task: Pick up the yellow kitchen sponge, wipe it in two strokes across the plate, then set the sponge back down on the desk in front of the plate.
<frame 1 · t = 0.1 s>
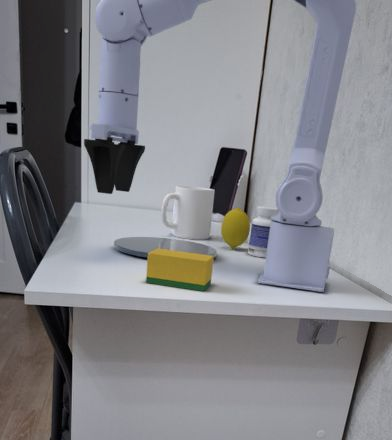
hand: (114, 192, 83), 10 cm above the table, tool pointing down, fingers open, 7 cm apart
cup: (183, 237, 116), on the table
pill bottle: (261, 256, 103), on the table
sponge: (178, 283, 74), on the table
lemon: (232, 250, 107), on the table
plate: (165, 252, 96), on the table
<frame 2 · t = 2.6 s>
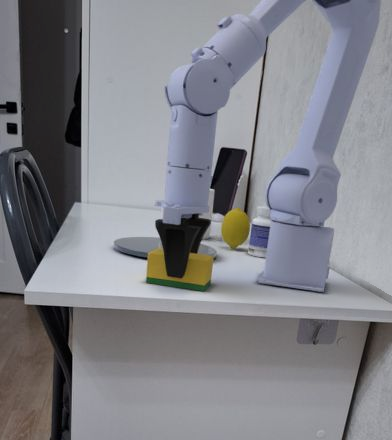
hand: (179, 273, 73), 1 cm above the table, tool pointing down, fingers closed on sponge, 4 cm apart
sponge: (178, 283, 74), on the table, touching gripper
everything else where it was.
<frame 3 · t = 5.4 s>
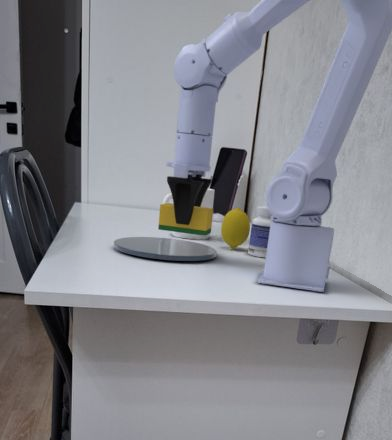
hand: (186, 222, 90), 6 cm above the table, tool pointing down, fingers closed on sponge, 4 cm apart
sponge: (184, 231, 91), point 5 cm above the table, touching gripper
everything else where it was.
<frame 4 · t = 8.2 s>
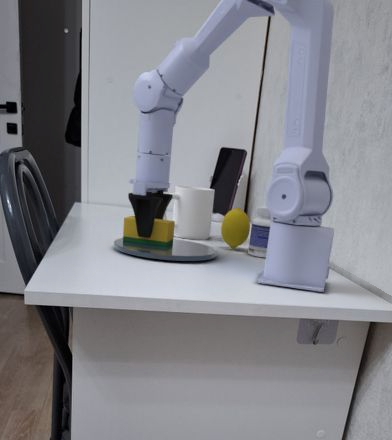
hand: (148, 235, 97), 2 cm above the table, tool pointing down, fingers closed on sponge, 4 cm apart
sponge: (148, 242, 97), point 1 cm above the table, touching gripper, plate
everything else where it was.
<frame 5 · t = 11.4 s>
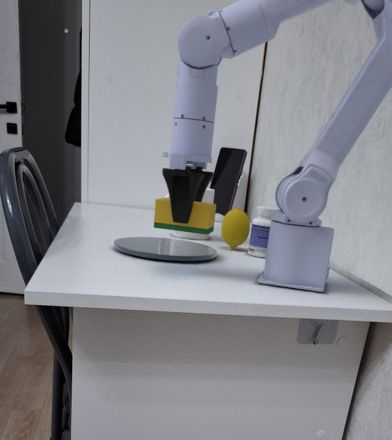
hand: (184, 221, 79), 7 cm above the table, tool pointing down, fingers closed on sponge, 4 cm apart
sponge: (184, 229, 80), point 6 cm above the table, touching gripper
everything else where it was.
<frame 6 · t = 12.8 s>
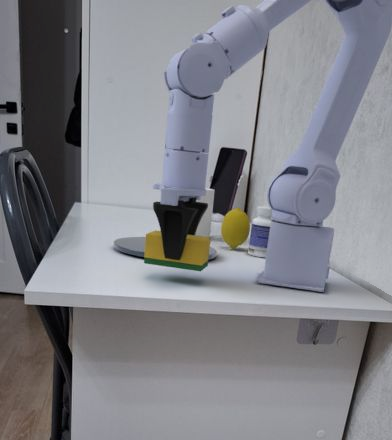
hand: (177, 256, 75), 3 cm above the table, tool pointing down, fingers closed on sponge, 4 cm apart
sponge: (176, 264, 75), point 2 cm above the table, touching gripper
everything else where it was.
when the fingers open (1 cm above the table, at t = 13.9 s): sponge stays where it is, on the table.
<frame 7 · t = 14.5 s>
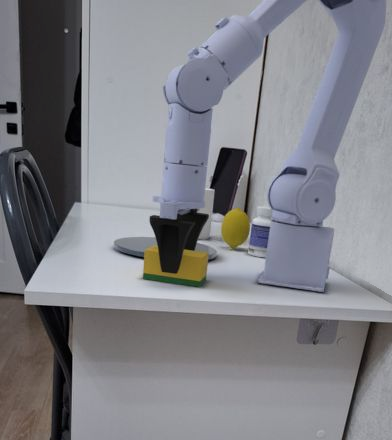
hand: (176, 267, 75), 2 cm above the table, tool pointing down, fingers open, 7 cm apart
sponge: (174, 279, 76), on the table
everything else where it was.
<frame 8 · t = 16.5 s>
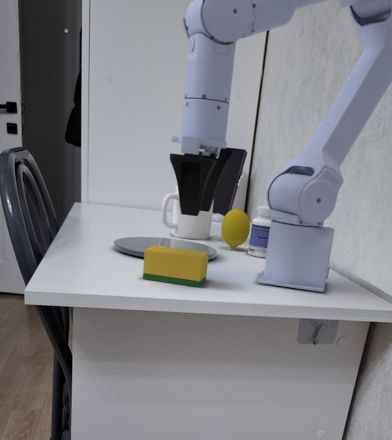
hand: (196, 212, 72), 9 cm above the table, tool pointing down, fingers open, 7 cm apart
nothing on the table moved.
at the end: sponge inside the target area on the table beside the plate (0.1 cm from its centre), on the table; sponge tilted 0°; the gripper is holding nothing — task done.
